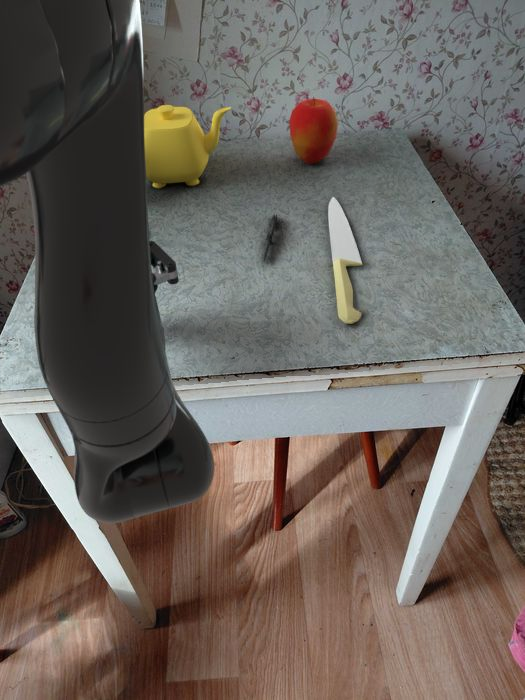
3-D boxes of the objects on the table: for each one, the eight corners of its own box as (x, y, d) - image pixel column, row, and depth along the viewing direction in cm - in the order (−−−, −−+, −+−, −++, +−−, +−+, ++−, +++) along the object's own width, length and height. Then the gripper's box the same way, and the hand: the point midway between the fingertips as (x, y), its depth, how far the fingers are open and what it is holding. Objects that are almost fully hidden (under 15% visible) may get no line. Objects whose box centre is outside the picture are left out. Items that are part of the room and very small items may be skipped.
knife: (351, 195, 93) (325, 192, 93) (374, 322, 70) (340, 318, 70) (349, 202, 94) (323, 199, 94) (371, 329, 71) (337, 325, 71)
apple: (327, 174, 100) (331, 109, 91) (282, 167, 102) (282, 103, 94) (340, 152, 106) (345, 89, 97) (297, 146, 108) (298, 84, 99)
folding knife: (266, 267, 81) (266, 257, 79) (259, 267, 81) (259, 256, 79) (278, 220, 89) (277, 210, 88) (271, 220, 90) (271, 209, 88)
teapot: (135, 161, 106) (120, 95, 97) (234, 154, 107) (229, 88, 98) (128, 196, 97) (111, 127, 88) (237, 189, 97) (231, 119, 88)
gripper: (189, 285, 51) (162, 198, 63) (36, 316, 48) (38, 219, 60) (198, 340, 56) (172, 250, 68) (61, 371, 54) (58, 272, 65)
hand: (109, 236), depth 64 cm, fingers closed on tube, 4 cm apart
